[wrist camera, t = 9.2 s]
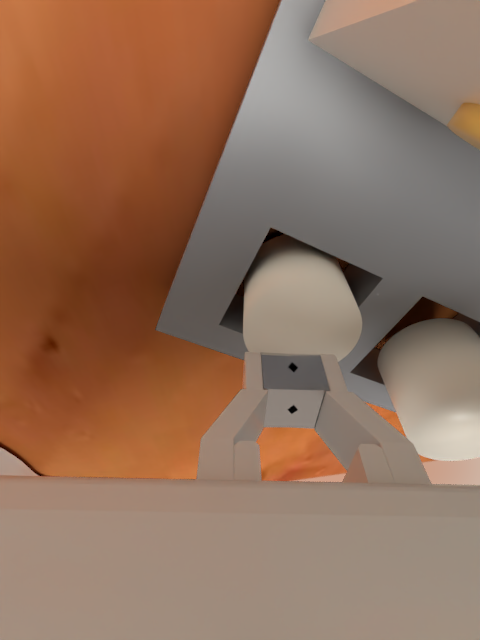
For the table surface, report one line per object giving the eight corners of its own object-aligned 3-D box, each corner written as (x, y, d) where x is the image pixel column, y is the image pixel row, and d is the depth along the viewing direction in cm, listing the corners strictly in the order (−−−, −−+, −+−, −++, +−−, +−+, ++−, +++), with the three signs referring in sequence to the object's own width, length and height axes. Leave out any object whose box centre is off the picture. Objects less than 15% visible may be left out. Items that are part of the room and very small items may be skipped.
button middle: (428, 396, 17) (467, 470, 14) (358, 370, 16) (384, 444, 13) (500, 338, 15) (567, 413, 12) (423, 304, 14) (473, 375, 11)
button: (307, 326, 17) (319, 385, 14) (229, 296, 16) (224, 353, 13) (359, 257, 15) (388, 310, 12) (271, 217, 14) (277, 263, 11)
